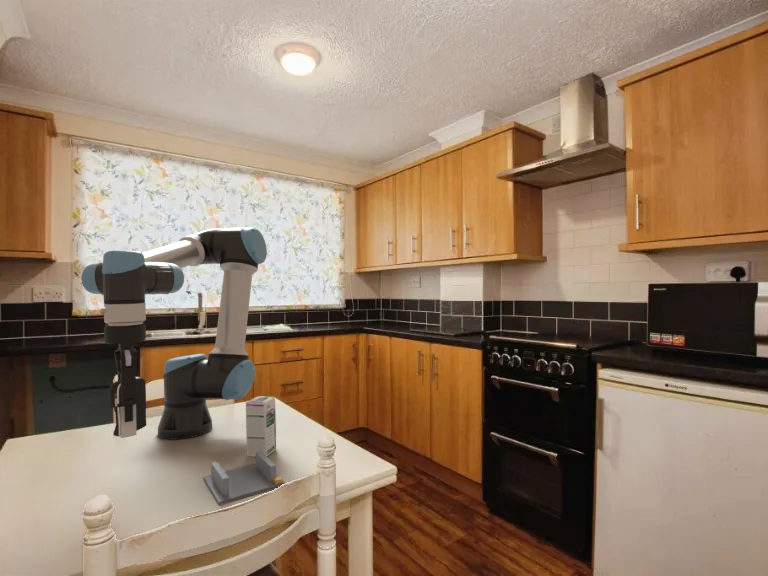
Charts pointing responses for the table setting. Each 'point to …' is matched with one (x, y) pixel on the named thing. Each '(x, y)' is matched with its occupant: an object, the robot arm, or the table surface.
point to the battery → (116, 398)
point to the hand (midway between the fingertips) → (127, 430)
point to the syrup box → (261, 425)
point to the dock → (242, 479)
